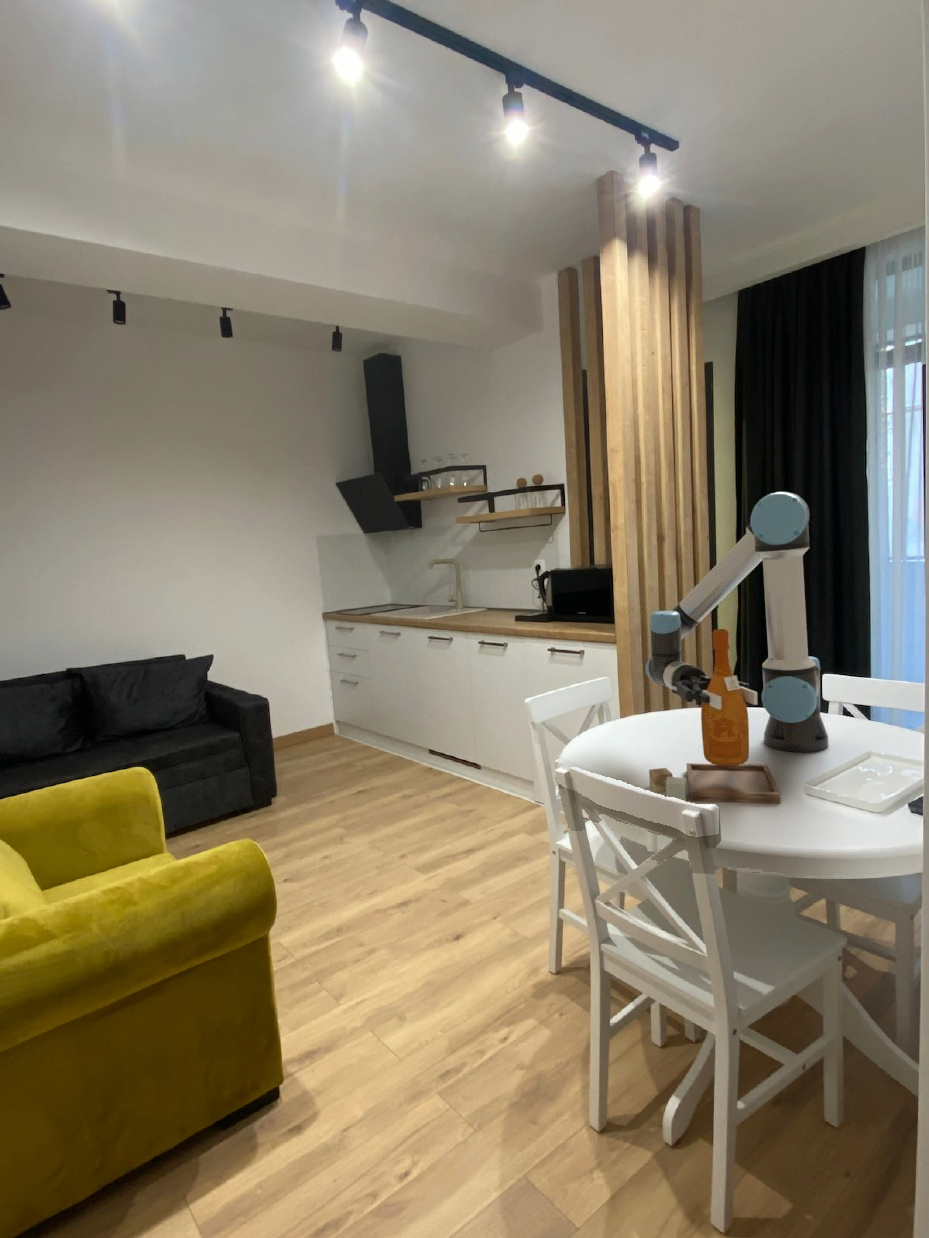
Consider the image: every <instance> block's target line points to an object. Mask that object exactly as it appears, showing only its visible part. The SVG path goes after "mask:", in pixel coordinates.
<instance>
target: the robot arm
mask: <svg viewBox="0 0 929 1238" xmlns="http://www.w3.org/2000/svg"><path fill="white" fill-rule="evenodd" d="M810 516H811V514H810V507H809V505H808V503H807V502H806V501H805V499H804V498H802V497H801V496H800V495H798V494H796V493H793V492H788V491H776V492H772V493H768V494H766V495H765V496H764V497H762V498H761V499H759V500H758V502H757V503H756V504H755V505H754V507H753V509H752V511H751V515H750V519H749V520H750V522H749V525H747V527H745V530H746V531H745V534H744V535H743V536H742V537H741V538H740V540H739V541H737V543H736V544H735V545H734V546H733V547H732V548H731V549H730V550H729V551H728V552H727V553H726V554H725V555H723V557H722V558H721V559H720V560H719V561H718V562H717V563H716V565H714V566H713V568H711V569H710V571H709V572H708V573H707V574H706V575H704V576H703V578H702V579H701V580H700V581H699V582H698V583H697V584H695V586H694V587H693V588H692V589H691V590H690V591H689V592H688V594H686V595H685V597H683V599H681V600H680V602H679V603H678V604H677V605H676V606H675V607H674V608H673V609H672V610H660V611H659V610H658V611H654V612H652V613H651V614H650V619H649V620H650V623H649V629H650V646H651V647H650V649H651V652H650V653H651V657H649V658H648V660H647V661H646V664H645V673H646V675H647V676H648V678H649V679H650V680H652V681H653V682H654V683H656V684H658V685H661V686H664V687H666V688H667V689H670V690H671V693H673V694H676V695H678V696H679V697H681V698H682V699H683V700H684V701H686V702H687V703H692V702H693V700H694V701H695V705H696V706H702V703H709V704H710V706H712V707H714V708H716V709H721V696H718V695H716V694H713V693H711V692H708V691H707V688H708V686H709V683H710V681H711V679H712V677H711V676H710V677H709V676H708V675H706V673H705V672H704V671H703V669H701V668H699V667H698V666H694V665H692V664H689V663H687V662H685V661H682V640H683V639H684V638H686V637H687V636H688V635H690V634H691V633H692V631H693V630H694V629H695V628H696V627H697V626H698V625H699V624H700V623H701V622H702V621H703V620H704V618H706V617H707V616H708V615H709V614H710V613H711V612H712V611H713V609H715V608H716V607H717V606H718V605H719V604H720V603H721V602H722V601H723V600H724V599H725V598H726V597H727V596H728V595H729V594H730V593H731V592H732V591H733V590H734V589H735V588H736V587H737V586H738V585H739V584H741V582H742V581H743V580H745V578H746V577H747V576H748V575H749V574H750V573H751V572H752V571H754V569H755V568H756V567H757V566H758V565H759V564H760V563H761V562H762V568H763V569H762V573H763V588H764V602H765V603H764V604H765V621H766V636H767V638H766V639H767V651H768V652H767V653H768V657H767V658H766V659H765V661H764V662H762V681H763V683H762V684H763V689H762V692H761V702H762V705H763V708H764V710H765V711H766V712H767V714H769V717H768V719H767V724H766V726H765V728H764V732H763V742H764V744H765V745H766V746H768V747H771V748H773V749H776V750H779V751H780V750H781V751H785V752H786V751H787V752H795V753H796V752H797V753H798V752H799V753H809V752H816V751H822V750H824V749H826V748H827V747H829V734H828V732H827V730H826V727H825V724H824V722H823V719H822V717H821V690H820V689H821V686H820V685H821V683H820V682H821V679H820V678H821V677H820V671H821V666H820V660H819V659H818V658H817V657H815V656H809V649H808V630H807V611H806V609H807V608H806V597H805V596H806V595H805V579H804V578H805V577H804V576H805V575H804V562H803V561H804V558H803V557H804V555H805V553H806V552H808V550H809V549H810V536H809V535H810V534H809V532H810V531H809V522H810ZM738 683H739V687H740V691H741V693H742V695H743V698H744V700H745V703H749V704H752V705H754V706H755V705H756V706H757V705H758V692H757V691H755V690H753V689H750V684H749V683H747V682H743V681H739V680H738Z"/></svg>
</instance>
